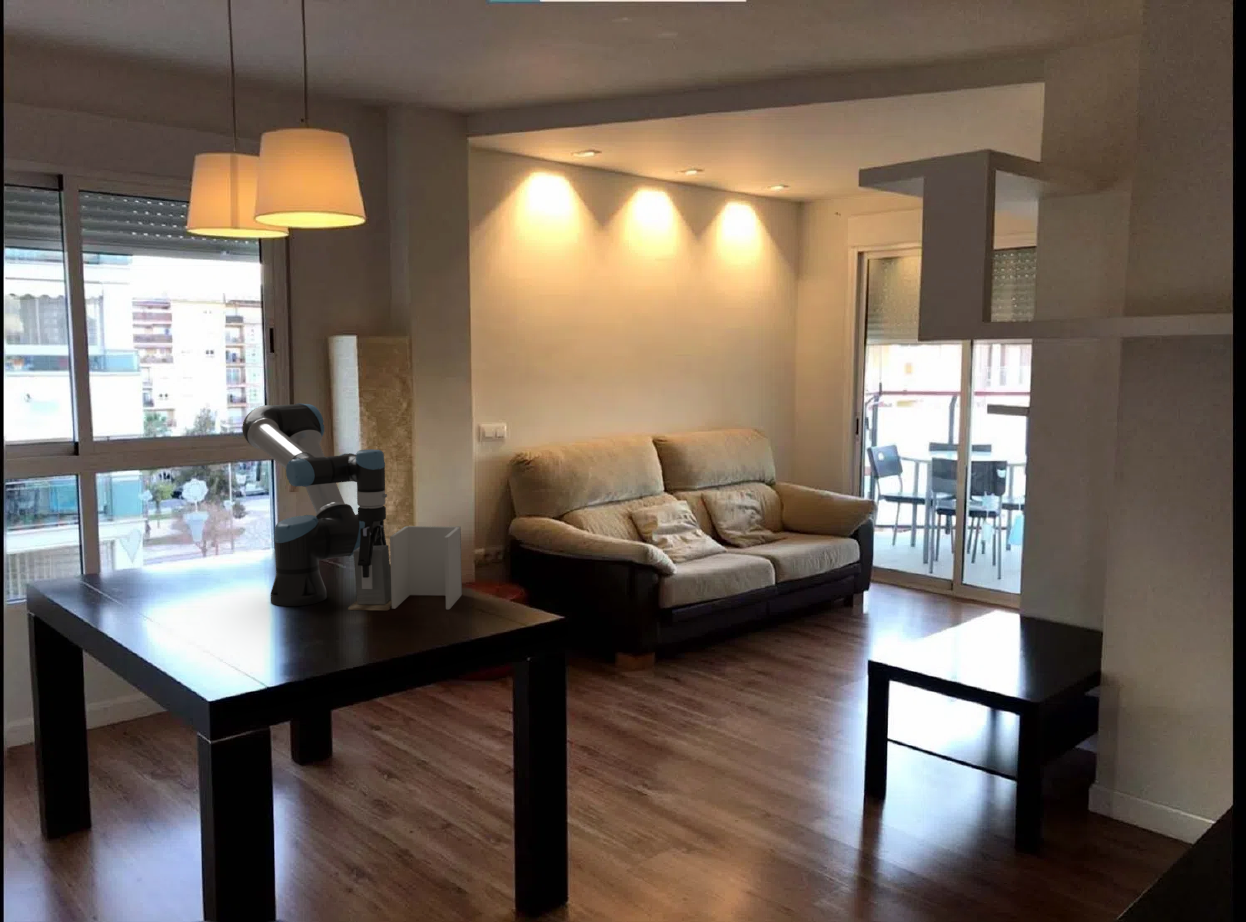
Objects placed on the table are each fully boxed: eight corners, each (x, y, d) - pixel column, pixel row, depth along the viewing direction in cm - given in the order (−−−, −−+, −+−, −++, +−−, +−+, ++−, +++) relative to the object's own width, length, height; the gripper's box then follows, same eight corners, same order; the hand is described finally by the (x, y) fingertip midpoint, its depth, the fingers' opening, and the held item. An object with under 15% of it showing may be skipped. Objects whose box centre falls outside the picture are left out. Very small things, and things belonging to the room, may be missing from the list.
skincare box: (392, 599, 283) (391, 544, 281) (384, 606, 276) (382, 549, 274) (363, 599, 284) (361, 543, 282) (354, 605, 277) (352, 548, 275)
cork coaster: (348, 609, 275) (348, 607, 275) (361, 598, 287) (361, 596, 286) (388, 610, 274) (387, 608, 274) (399, 599, 286) (399, 597, 286)
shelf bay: (391, 608, 276) (389, 536, 274) (407, 594, 292) (405, 526, 290) (449, 609, 275) (448, 537, 273) (461, 594, 291) (460, 526, 289)
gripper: (372, 513, 265) (374, 594, 268) (397, 499, 289) (399, 573, 291) (344, 513, 265) (346, 593, 268) (371, 499, 289) (373, 573, 292)
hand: (373, 583), depth 280 cm, fingers open, 11 cm apart
